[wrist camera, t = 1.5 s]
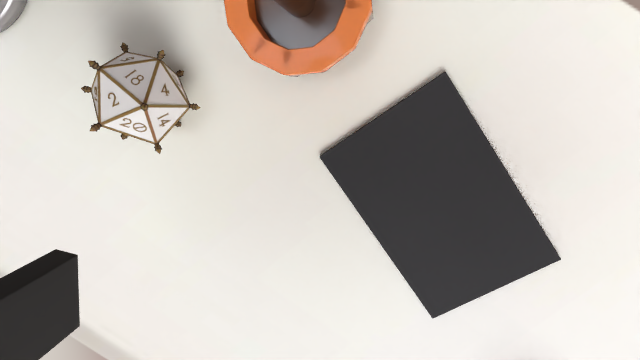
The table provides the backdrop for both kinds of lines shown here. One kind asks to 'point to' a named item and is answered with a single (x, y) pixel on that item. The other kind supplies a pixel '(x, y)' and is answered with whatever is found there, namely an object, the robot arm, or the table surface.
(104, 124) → the game die
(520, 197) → the mat
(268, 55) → the ring
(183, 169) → the table surface
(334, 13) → the post
